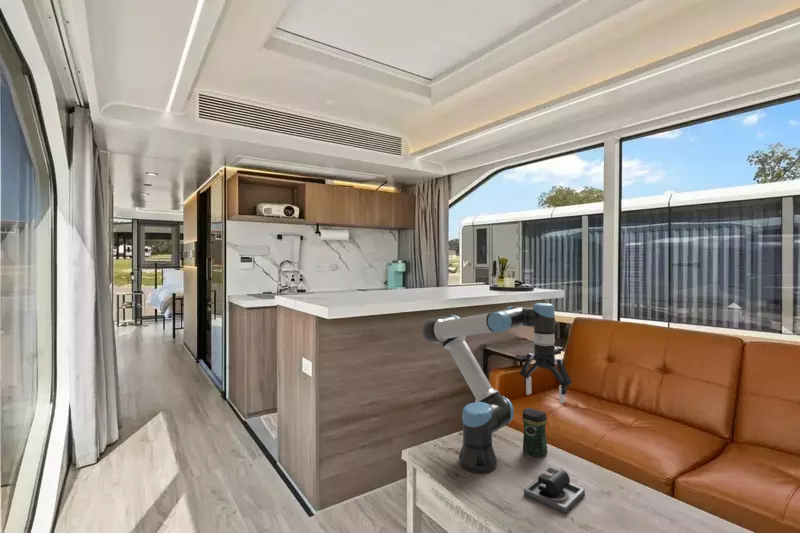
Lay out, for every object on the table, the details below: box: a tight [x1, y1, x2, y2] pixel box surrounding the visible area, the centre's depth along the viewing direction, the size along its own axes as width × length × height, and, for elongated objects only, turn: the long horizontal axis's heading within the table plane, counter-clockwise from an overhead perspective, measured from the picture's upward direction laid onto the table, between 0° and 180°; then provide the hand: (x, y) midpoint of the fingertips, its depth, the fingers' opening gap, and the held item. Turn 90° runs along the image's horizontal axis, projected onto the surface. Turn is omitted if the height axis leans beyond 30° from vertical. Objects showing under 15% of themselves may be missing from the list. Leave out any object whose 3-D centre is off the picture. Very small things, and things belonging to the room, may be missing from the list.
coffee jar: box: [521, 407, 548, 458], centre depth 176 cm, size 10×8×19 cm
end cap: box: [538, 467, 571, 498], centre depth 146 cm, size 10×7×7 cm
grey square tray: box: [523, 472, 586, 515], centre depth 146 cm, size 15×15×2 cm
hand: (544, 398), depth 161 cm, fingers open, 13 cm apart
